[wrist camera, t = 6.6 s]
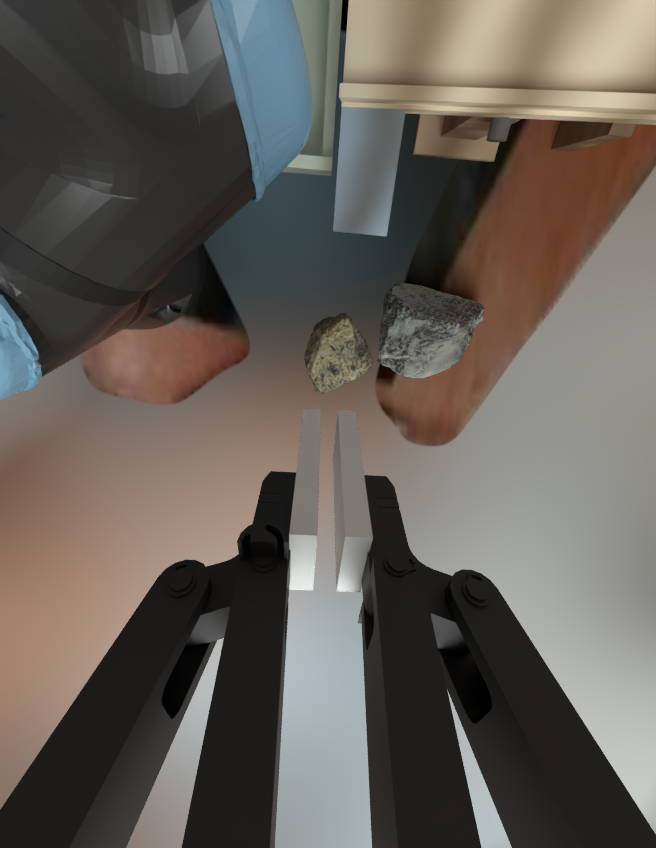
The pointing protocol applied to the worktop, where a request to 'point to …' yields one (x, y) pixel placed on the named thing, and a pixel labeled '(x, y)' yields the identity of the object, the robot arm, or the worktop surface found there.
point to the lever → (481, 78)
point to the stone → (425, 329)
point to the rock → (336, 353)
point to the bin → (319, 81)
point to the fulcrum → (469, 142)
